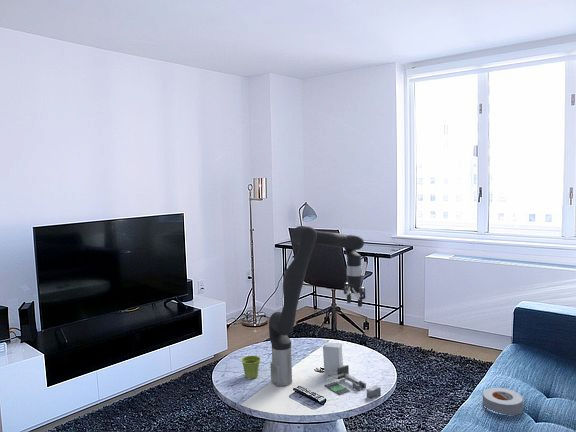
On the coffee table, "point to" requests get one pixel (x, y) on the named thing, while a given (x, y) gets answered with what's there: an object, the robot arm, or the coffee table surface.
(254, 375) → the plant pot
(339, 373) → the grey l-shaped bracket
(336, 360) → the skincare box
